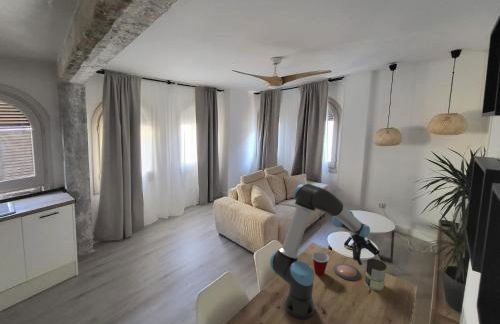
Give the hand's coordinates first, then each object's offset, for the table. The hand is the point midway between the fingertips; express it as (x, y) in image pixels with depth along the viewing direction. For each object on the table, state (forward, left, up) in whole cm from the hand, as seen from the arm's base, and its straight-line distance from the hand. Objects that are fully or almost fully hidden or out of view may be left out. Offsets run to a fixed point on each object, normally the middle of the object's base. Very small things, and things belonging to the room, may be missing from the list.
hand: (373, 268), depth 144 cm
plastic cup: (-31, +1, -9) cm, 33 cm away
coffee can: (+1, -3, -9) cm, 10 cm away
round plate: (-13, +6, -9) cm, 17 cm away
